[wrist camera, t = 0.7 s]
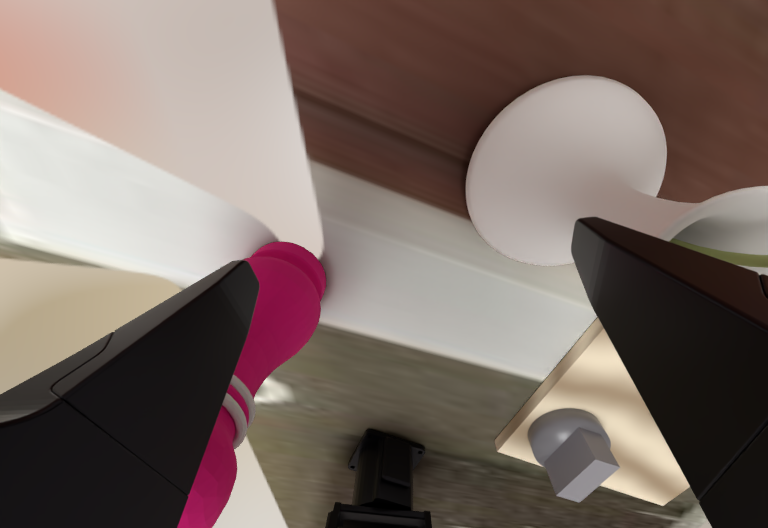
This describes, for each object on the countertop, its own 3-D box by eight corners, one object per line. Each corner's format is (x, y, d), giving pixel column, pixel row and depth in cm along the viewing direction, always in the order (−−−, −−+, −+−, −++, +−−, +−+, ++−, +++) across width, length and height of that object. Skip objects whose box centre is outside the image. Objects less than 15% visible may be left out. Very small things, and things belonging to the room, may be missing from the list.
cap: (573, 462, 32) (596, 512, 28) (514, 443, 32) (530, 492, 28) (616, 421, 30) (648, 470, 26) (553, 399, 29) (576, 446, 25)
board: (655, 493, 35) (662, 505, 34) (494, 440, 33) (497, 451, 32) (832, 361, 27) (850, 372, 26) (629, 279, 25) (639, 287, 24)
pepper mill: (234, 234, 25) (-183, 554, 7) (328, 235, 25) (120, 579, 7) (253, 313, 29) (-11, 670, 11) (336, 315, 28) (206, 694, 10)
